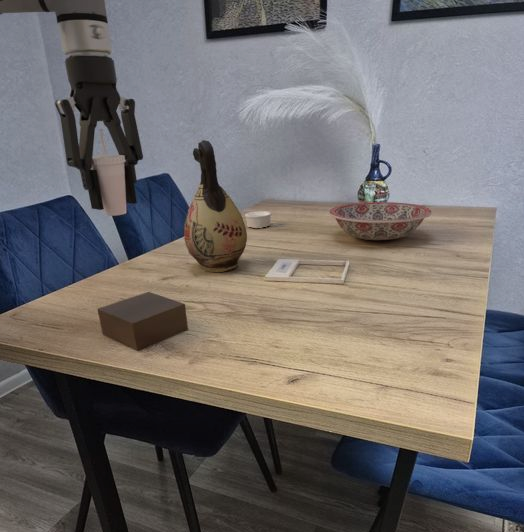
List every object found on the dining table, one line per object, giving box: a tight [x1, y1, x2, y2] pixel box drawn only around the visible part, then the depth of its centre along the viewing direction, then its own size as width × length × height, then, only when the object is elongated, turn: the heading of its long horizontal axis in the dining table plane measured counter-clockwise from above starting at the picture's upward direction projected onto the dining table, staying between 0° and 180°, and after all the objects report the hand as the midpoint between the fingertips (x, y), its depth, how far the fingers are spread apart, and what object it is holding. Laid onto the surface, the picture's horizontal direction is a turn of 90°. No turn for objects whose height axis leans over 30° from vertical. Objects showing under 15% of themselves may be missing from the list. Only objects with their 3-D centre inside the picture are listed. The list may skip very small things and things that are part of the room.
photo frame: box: [264, 258, 351, 285], centre depth 113 cm, size 15×1×18 cm
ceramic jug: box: [183, 139, 248, 273], centre depth 113 cm, size 17×15×30 cm
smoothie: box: [91, 128, 127, 217], centre depth 83 cm, size 6×6×14 cm
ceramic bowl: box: [328, 201, 433, 241], centre depth 139 cm, size 29×29×8 cm
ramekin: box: [244, 210, 272, 228], centre depth 161 cm, size 9×9×4 cm
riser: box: [97, 291, 189, 352], centre depth 85 cm, size 11×11×5 cm
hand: (114, 205), depth 85 cm, fingers closed on smoothie, 6 cm apart
